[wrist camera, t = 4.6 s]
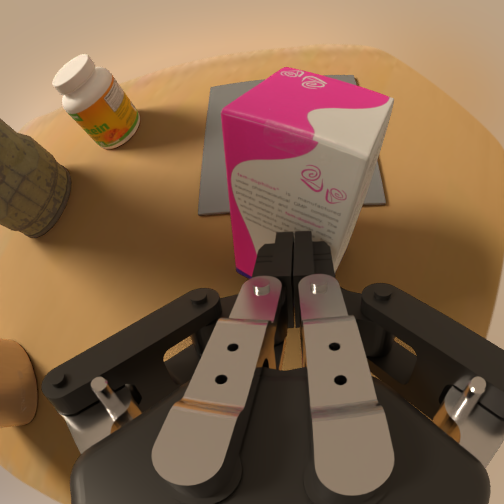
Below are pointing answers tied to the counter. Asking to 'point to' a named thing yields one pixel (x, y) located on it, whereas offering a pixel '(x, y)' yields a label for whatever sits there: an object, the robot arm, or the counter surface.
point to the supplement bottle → (96, 102)
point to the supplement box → (300, 160)
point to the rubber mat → (213, 161)
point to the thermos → (30, 184)
